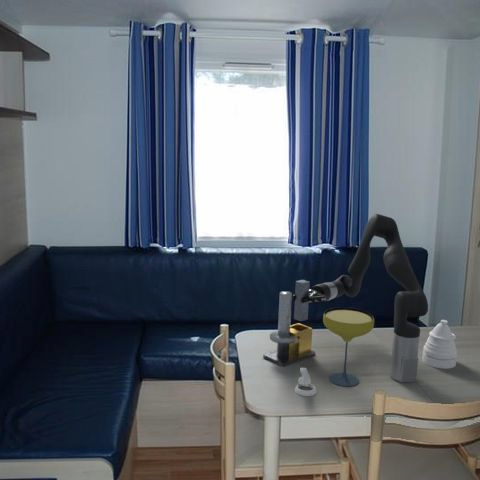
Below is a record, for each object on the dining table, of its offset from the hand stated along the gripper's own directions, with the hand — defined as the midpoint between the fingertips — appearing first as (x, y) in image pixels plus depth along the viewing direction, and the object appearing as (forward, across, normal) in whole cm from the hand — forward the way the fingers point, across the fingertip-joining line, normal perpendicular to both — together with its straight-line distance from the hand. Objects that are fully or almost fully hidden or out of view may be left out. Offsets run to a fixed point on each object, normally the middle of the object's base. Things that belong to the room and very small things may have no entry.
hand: (297, 299), depth 221 cm
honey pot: (-39, +43, +23) cm, 62 cm away
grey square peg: (-3, 0, +9) cm, 9 cm away
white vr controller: (+23, +26, +23) cm, 41 cm away
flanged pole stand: (+5, +1, +23) cm, 23 cm away
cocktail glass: (+5, +29, +23) cm, 37 cm away
